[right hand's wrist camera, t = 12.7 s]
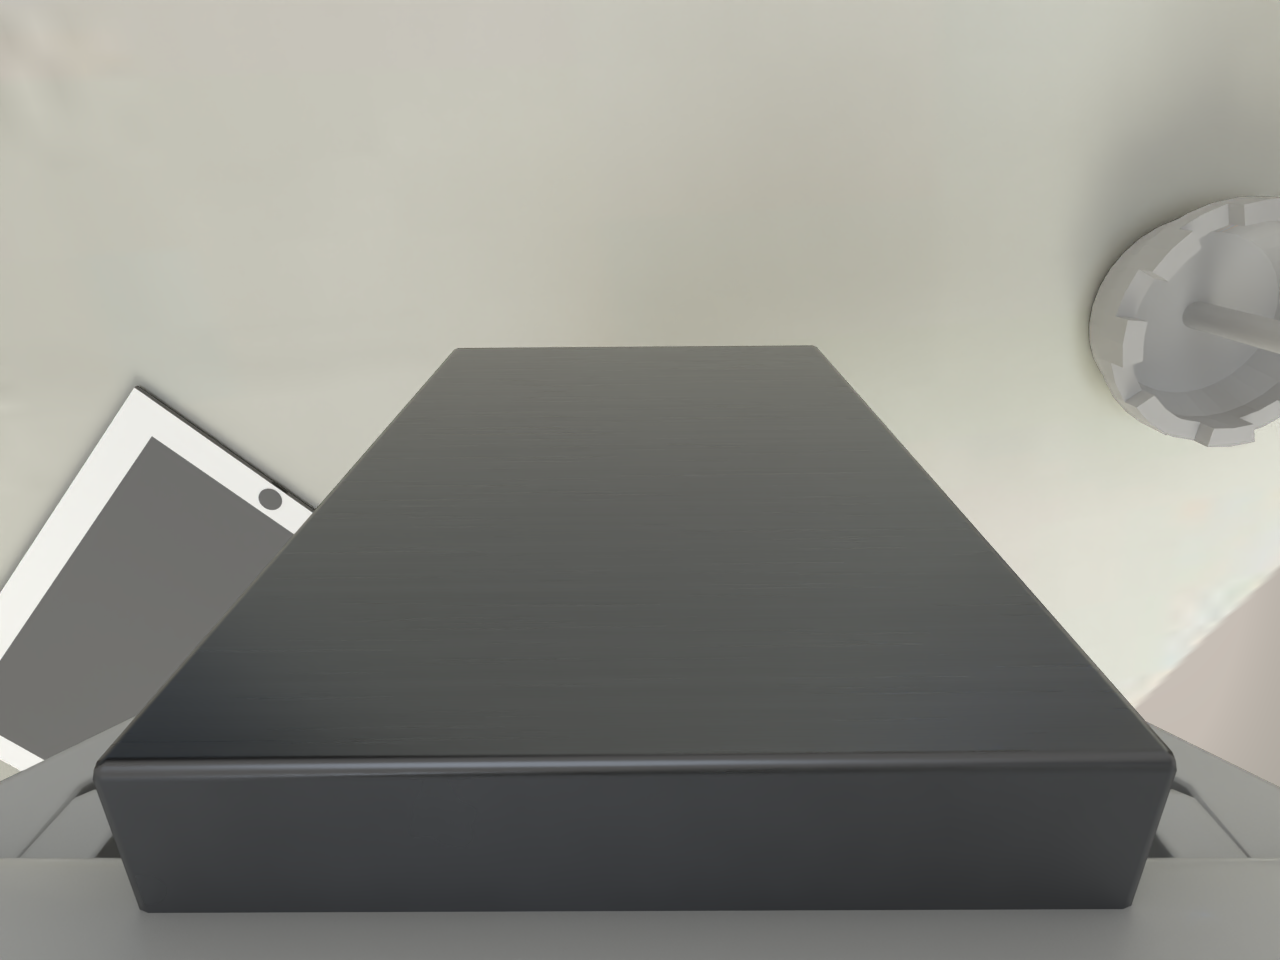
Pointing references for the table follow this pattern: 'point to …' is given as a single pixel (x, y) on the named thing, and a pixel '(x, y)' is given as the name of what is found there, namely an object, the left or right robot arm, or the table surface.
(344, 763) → the box
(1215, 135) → the table surface
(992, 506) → the table surface
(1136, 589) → the table surface
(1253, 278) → the flag stand
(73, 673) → the tablet
